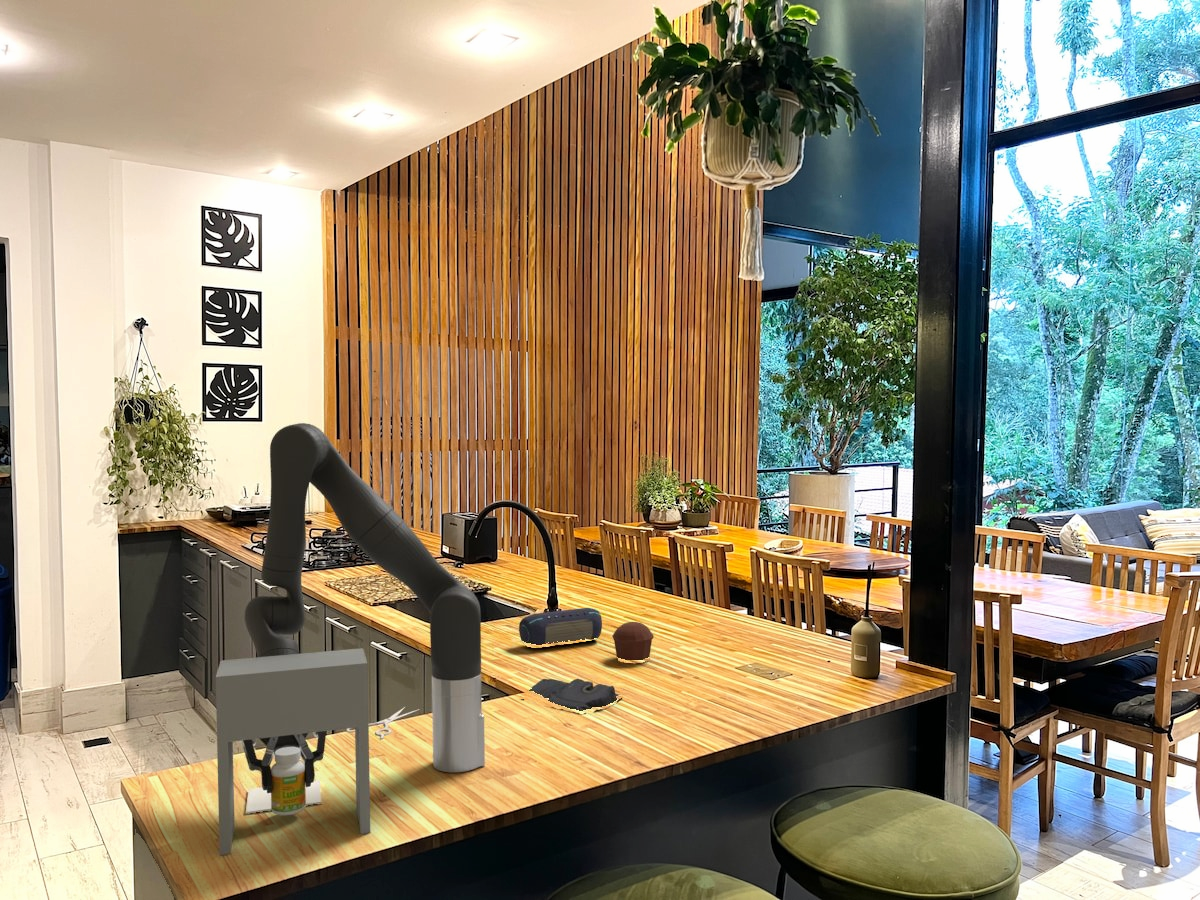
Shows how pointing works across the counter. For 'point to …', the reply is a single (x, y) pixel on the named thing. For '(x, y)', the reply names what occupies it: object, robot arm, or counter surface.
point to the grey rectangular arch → (290, 713)
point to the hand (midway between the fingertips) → (289, 787)
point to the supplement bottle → (288, 782)
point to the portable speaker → (561, 626)
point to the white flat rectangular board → (262, 799)
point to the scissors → (385, 724)
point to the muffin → (633, 641)
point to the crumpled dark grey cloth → (575, 693)
